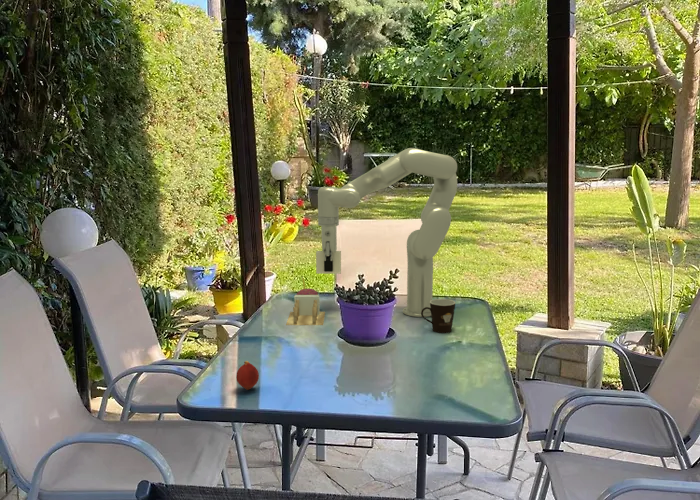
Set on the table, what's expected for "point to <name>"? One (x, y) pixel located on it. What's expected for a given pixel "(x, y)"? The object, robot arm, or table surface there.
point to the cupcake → (306, 290)
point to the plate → (307, 304)
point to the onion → (247, 375)
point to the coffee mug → (441, 315)
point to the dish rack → (305, 316)
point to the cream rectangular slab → (321, 258)
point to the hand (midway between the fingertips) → (328, 270)
